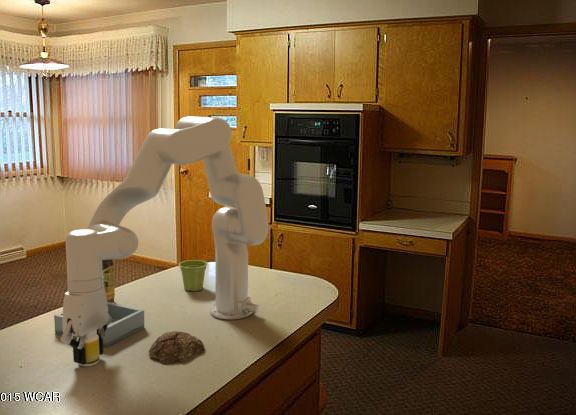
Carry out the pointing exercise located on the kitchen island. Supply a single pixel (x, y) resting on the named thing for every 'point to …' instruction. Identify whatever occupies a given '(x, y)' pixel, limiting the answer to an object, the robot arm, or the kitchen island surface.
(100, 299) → the robot arm
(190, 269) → the plant pot
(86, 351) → the supplement bottle
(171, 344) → the bread roll
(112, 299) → the sauce bottle
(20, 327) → the kitchen island surface
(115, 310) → the tote
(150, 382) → the kitchen island surface
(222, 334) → the kitchen island surface
